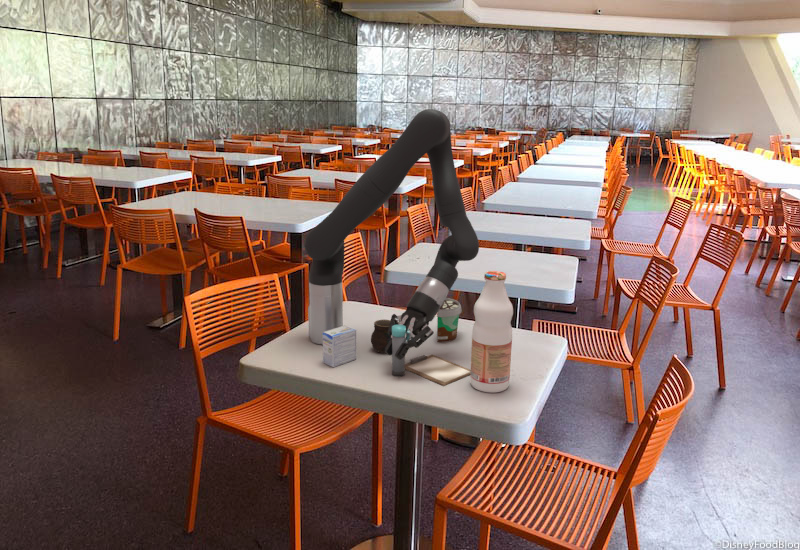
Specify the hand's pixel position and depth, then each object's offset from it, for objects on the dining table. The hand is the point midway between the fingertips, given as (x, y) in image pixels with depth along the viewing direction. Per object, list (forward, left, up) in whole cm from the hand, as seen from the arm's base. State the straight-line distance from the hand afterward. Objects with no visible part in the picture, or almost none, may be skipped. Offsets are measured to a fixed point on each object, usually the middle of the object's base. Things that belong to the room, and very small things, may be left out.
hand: (392, 355), depth 157 cm
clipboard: (+5, +11, -5) cm, 13 cm away
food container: (-9, +31, -6) cm, 33 cm away
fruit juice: (+19, +14, -6) cm, 25 cm away
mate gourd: (-14, +10, -6) cm, 18 cm away
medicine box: (-16, -4, -6) cm, 18 cm away
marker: (0, +2, -5) cm, 6 cm away
